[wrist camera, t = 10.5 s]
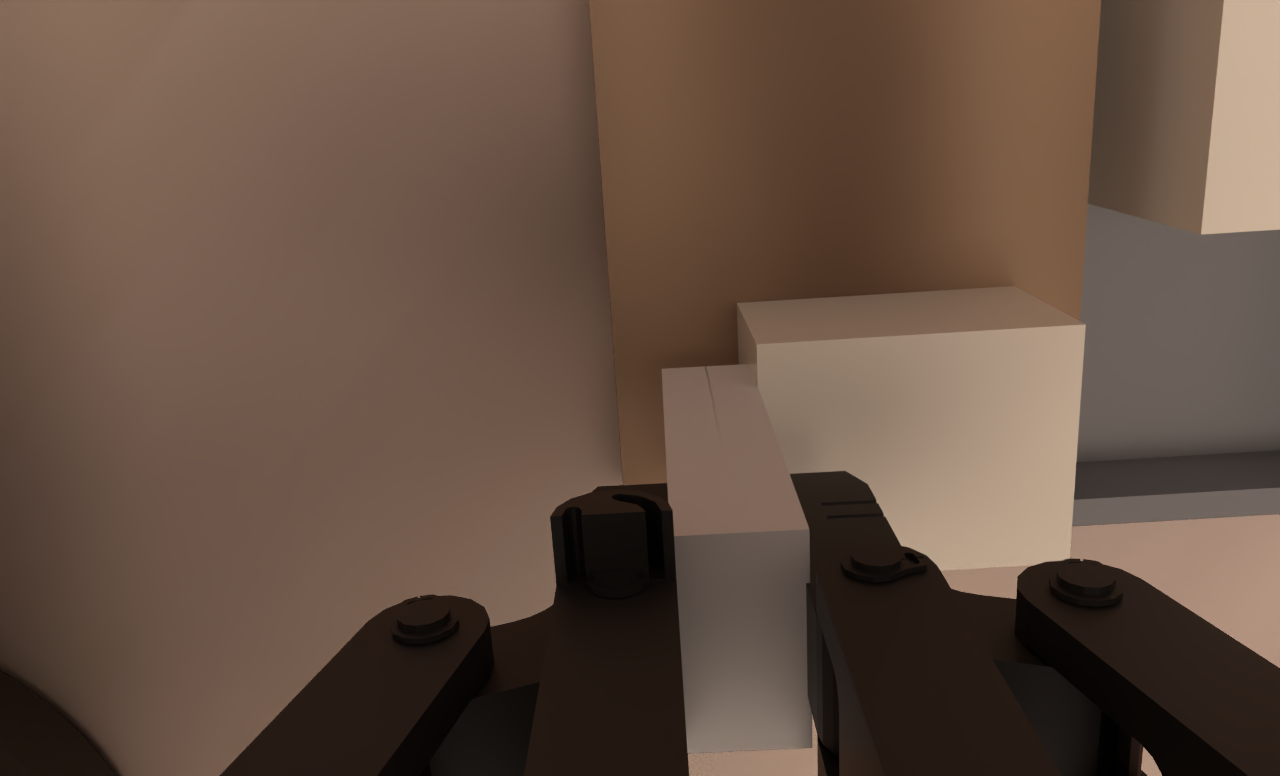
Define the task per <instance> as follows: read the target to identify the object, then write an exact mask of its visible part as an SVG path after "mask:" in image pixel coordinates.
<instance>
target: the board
mask: <svg viewBox="0 0 1280 776" xmlns="http://www.w3.org/2000/svg"><path fill="white" fill-rule="evenodd" d="M589 10H590V24H591V38H592V52H593V66H594V80H595V95H596V109H597V123H598V137H599V151H600V165H601V179H602V194H603V208H604V222H605V236H606V250H607V264H608V279H609V293H610V307H611V321H612V335H613V349H614V364H615V378H616V392H617V406H618V420H619V434H620V448H621V463H622V477H623V485H639V484H658V483H667V468H666V448H665V428H664V408H663V388H662V369H667V368H685V367H703V366H721V365H739V356H738V326H737V303H745V302H761V301H778V300H794V299H810V298H827V297H843V296H859V295H876V294H892V293H908V292H925V291H941V290H957V289H974V288H990V287H1006V286H1015V287H1017V288H1019V289H1021V290H1023V291H1025V292H1026V293H1028V294H1030V295H1032V296H1034V297H1036V298H1038V299H1039V300H1041V301H1043V302H1045V303H1047V304H1049V305H1051V306H1052V307H1054V308H1056V309H1058V310H1060V311H1062V312H1064V313H1066V314H1067V315H1069V316H1071V317H1073V318H1075V319H1077V320H1079V321H1080V312H1081V296H1082V281H1083V266H1084V251H1085V236H1086V221H1087V206H1088V191H1089V176H1090V161H1091V146H1092V131H1093V115H1094V100H1095V85H1096V70H1097V55H1098V40H1099V25H1100V10H1101V0H589Z"/></svg>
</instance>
